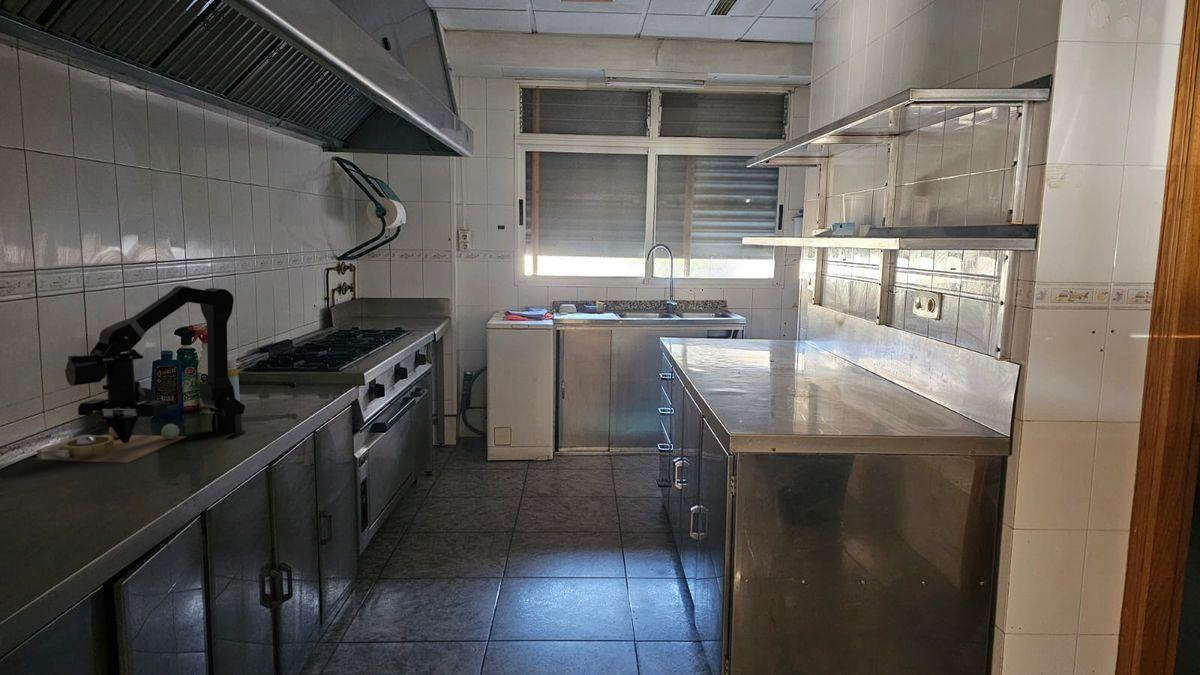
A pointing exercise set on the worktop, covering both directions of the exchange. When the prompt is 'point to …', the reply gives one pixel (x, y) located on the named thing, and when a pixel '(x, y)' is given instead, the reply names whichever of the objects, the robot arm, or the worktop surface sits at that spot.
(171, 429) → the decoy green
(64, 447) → the race ring
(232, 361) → the bottle
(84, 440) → the steel ball
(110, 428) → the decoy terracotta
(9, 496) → the worktop surface
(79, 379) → the robot arm
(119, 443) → the board
